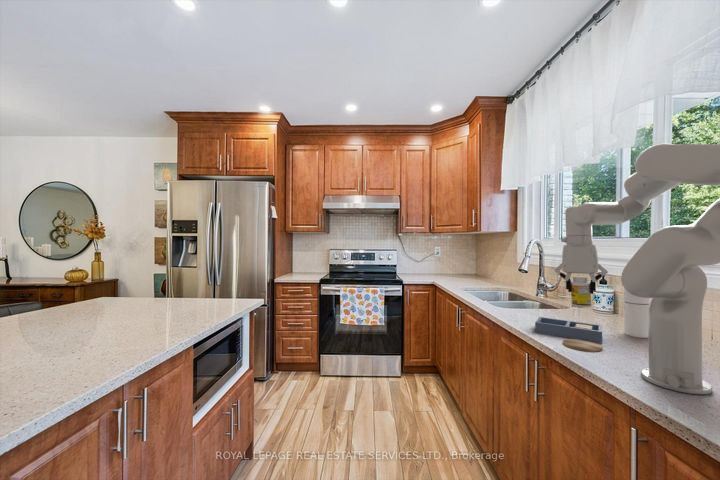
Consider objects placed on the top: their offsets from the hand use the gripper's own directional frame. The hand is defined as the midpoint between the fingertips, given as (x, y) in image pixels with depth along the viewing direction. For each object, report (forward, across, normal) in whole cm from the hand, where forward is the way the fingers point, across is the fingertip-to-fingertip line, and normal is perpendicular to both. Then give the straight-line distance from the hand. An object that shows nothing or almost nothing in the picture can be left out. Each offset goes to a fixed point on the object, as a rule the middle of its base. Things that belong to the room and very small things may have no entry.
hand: (580, 291), depth 105 cm
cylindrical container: (+19, +16, +29) cm, 38 cm away
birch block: (+19, 0, +14) cm, 23 cm away
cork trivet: (+19, 0, 0) cm, 19 cm away
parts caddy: (+18, -5, +14) cm, 24 cm away
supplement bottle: (+5, 0, 0) cm, 5 cm away
